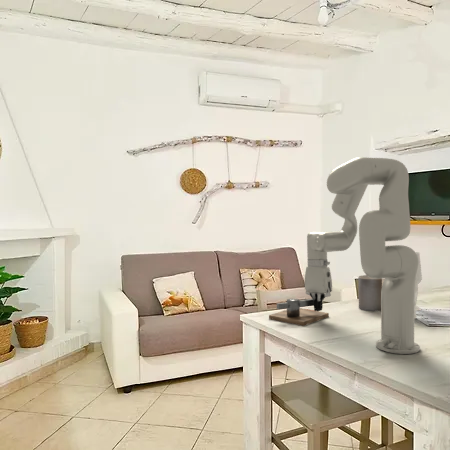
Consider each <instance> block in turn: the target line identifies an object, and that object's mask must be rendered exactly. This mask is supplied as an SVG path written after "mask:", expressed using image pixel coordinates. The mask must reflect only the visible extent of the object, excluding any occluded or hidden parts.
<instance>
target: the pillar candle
mask: <svg viewBox="0 0 450 450" xmlns="http://www.w3.org/2000/svg"><path fill="white" fill-rule="evenodd" d="M357 278H358V279H357V281H358V282H357V283H358V284H357V285H358V286H357V287H358V309H359V310H361V311H369V312H378V311H381V290H382V285H383V278H381V279H374V278H370V277H368V276H367V275H366V274H365V275H359V276H358V277H357Z"/></svg>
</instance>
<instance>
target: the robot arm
mask: <svg viewBox="0 0 450 450" xmlns="http://www.w3.org/2000/svg"><path fill="white" fill-rule="evenodd" d="M409 176H410V175H409V171H408V168H407V167H406V165H405V164H404V163H403V162H402V161H399V160H397V159H394V158H387V157H367V156H366V157H363V156H362V157H355V158H352V159H350V160H347V162H345V163H342V164H341V165H339V166H337V167H335V168H334V169H333V170H332V171H331V172H330V173H329V174H328V176H327V180H326V187H327V190H328V191H329V193H331V194H333V195H335V197H334V199H333V201H332V204H331V210H332V212H333V213H334V214H336V216H339V217H341V218H342V219H344V223H343V225H342V227H341V229H340V231H339V230H337V231H336V230H335V231H311V232H308V233H307V235H306V249H307V252H306V253H307V255H306V256H307V257H306V258H307V266H306V268H305V272H304V273H305V274H304V290H305V294H306V295H309V296H310V298H311V299H312V300H314V306H313V310H314V311H319V312H322V310H323V301H324V299H326V298H328V297H331V295H332V294H331V293H332V292H333V282H332V281H333V279H332V274H331V273H332V272H331V269H330V267H328V266H330V265H331V264H330V263H331V261H330V260H328V253H332V252H344V251H347V250H348V249H349V248H350V247H351V246H352V244H353V242H354V240H355V239H356V236H357V233H358V239H359V254H360V255H359V256H360V264H361V268H362V271H363V272H364V274H365V275H367V276H368V277H370V278H374V279H381V278H382V279H384V280H383V281H382V290H381V310H380V311H381V314H380V316H381V317H380V318H381V319H380V326H381V327H380V339H378V340H376V341H375V347H376V348H377V349H379V350H381V351H383V352H387V353H390V354H395V355H396V354H397V355H410V354H411V355H412V354H416V353H418V352H419V351H420V350H421V346H420V345H419V344H418V343H417V342H415V319H414V299H415V279H416V274H417V269H418V257H417V254H416V253H415V252H416V251H415V250H414V249H413V248H411V247H409V246H408V245H402V244H399V245H398V244H395V245H386V242H396V241H402V240H405V239H407V238H408V237H409V236H410V232H411V216H410V201H409V184H410V183H409V182H410V178H409ZM369 185H370V186H371V185H373V186H374V185H379V186H380V185H382V188H381V190H380V192H379V197H378V202H379V203H378V204H379V205H378V207H379V209H378V210H377V209H376V210H375V209H374V210H373V209H372V210H369V211H368V212H366V213H364V214H363V215H362V217H361V219H360V221H359V225H358V220H357V217H356V216H355V214H356V212H357V210H358V209H359V208H358V207H359V205H360V202H361V201H362V199H363V197H364V194H365V192H366V190H367V188H368V186H369Z"/></svg>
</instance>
